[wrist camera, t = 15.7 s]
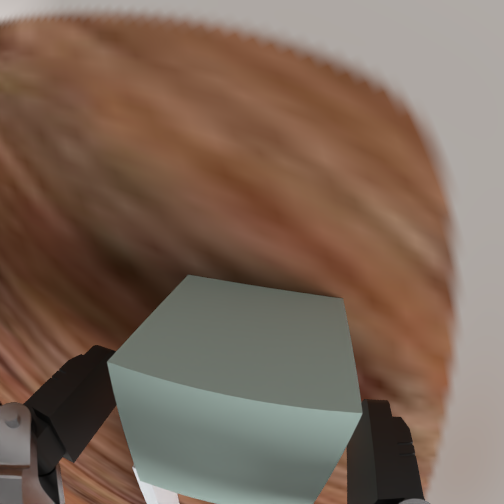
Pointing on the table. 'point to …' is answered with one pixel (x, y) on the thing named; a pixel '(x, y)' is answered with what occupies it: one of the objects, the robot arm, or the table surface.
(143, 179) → the table surface
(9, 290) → the table surface
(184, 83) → the table surface
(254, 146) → the table surface
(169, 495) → the white parallel rails
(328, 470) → the block
